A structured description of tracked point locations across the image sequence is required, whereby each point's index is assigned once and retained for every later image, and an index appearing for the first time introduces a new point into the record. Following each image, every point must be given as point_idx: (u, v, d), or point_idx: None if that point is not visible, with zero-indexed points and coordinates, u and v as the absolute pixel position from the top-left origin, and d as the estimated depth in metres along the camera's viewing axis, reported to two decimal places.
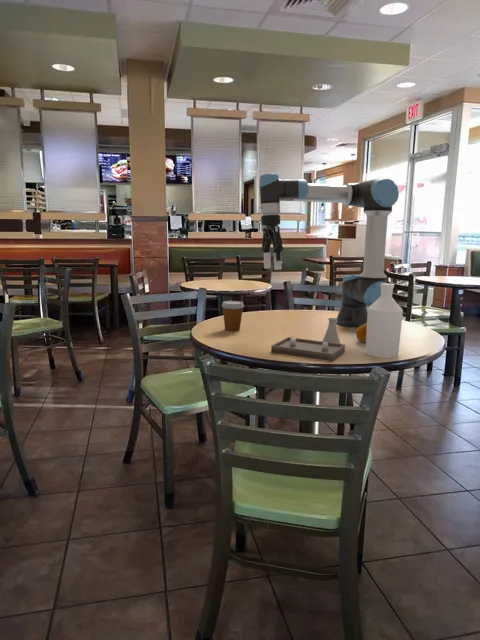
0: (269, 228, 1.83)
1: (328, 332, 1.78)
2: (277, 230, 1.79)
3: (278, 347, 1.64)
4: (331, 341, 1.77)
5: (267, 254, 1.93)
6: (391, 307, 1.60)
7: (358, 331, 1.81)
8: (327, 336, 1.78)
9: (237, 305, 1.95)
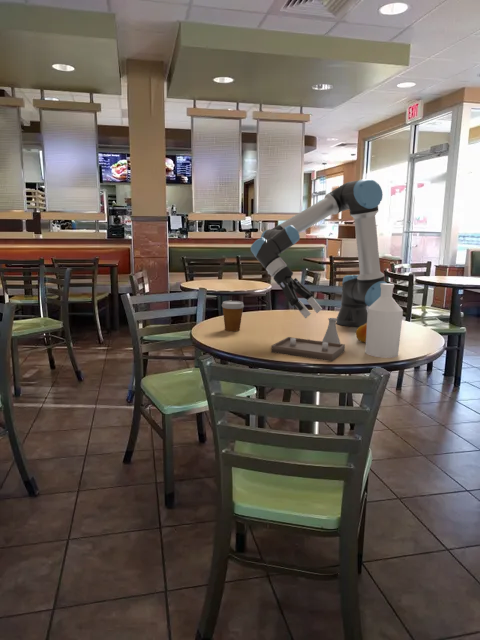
0: None
1: (328, 332, 1.78)
2: (284, 285, 1.77)
3: (278, 347, 1.64)
4: (331, 341, 1.77)
5: (310, 300, 1.87)
6: (391, 307, 1.60)
7: (358, 331, 1.81)
8: (327, 336, 1.78)
9: (237, 305, 1.95)
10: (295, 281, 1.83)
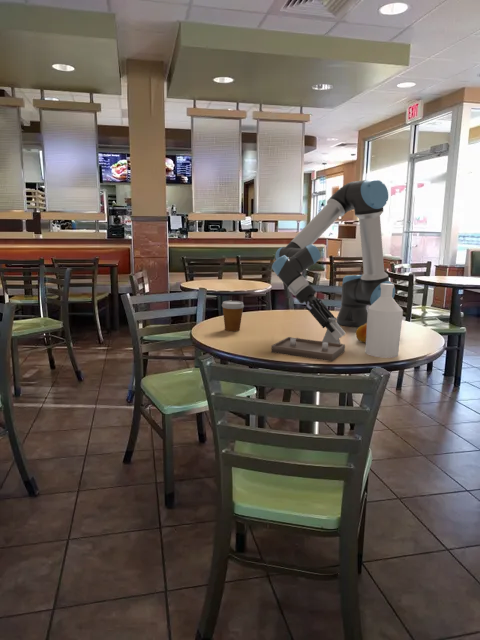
0: None
1: (328, 332, 1.78)
2: (311, 307, 1.75)
3: (278, 347, 1.64)
4: (331, 341, 1.77)
5: None
6: (391, 307, 1.60)
7: (358, 331, 1.81)
8: (327, 336, 1.78)
9: (237, 305, 1.95)
10: (318, 300, 1.81)
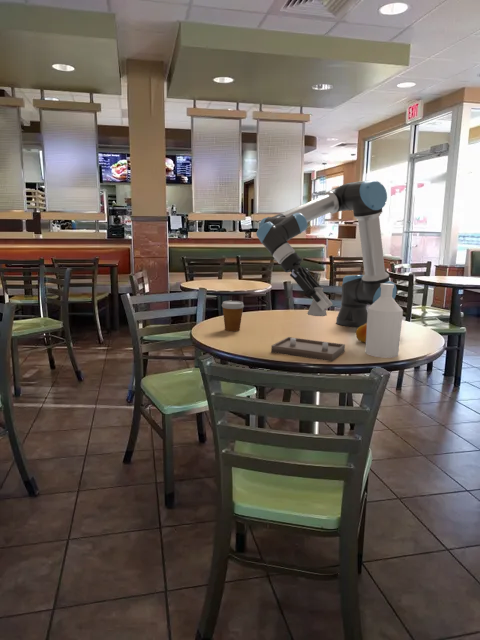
0: None
1: (314, 302, 1.68)
2: (296, 275, 1.65)
3: (278, 347, 1.64)
4: (317, 311, 1.67)
5: None
6: (391, 307, 1.60)
7: (358, 331, 1.81)
8: (313, 306, 1.68)
9: (237, 305, 1.95)
10: (304, 268, 1.71)
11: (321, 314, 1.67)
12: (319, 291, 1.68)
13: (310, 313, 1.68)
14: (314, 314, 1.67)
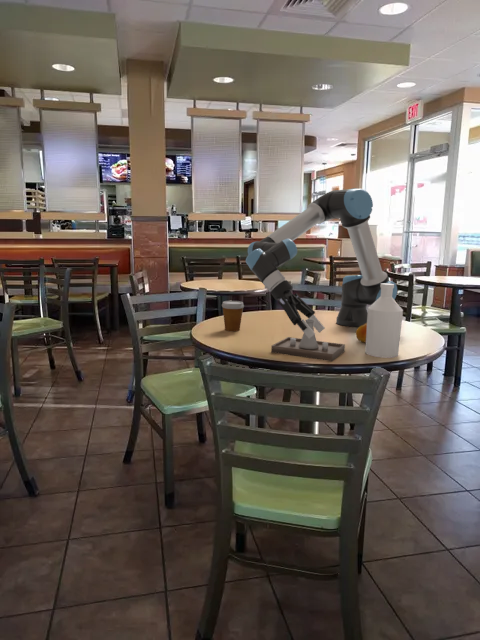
0: None
1: (305, 335, 1.65)
2: (283, 302, 1.61)
3: (278, 347, 1.64)
4: (308, 344, 1.64)
5: (311, 318, 1.70)
6: (391, 307, 1.60)
7: (358, 331, 1.81)
8: (304, 339, 1.65)
9: (237, 305, 1.95)
10: (295, 296, 1.68)
11: (312, 347, 1.64)
12: (310, 323, 1.64)
13: (301, 346, 1.65)
14: (305, 347, 1.64)
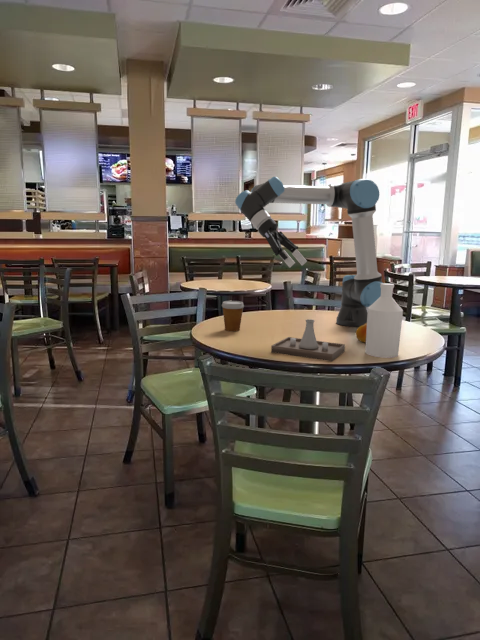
0: None
1: (305, 335, 1.65)
2: (268, 235, 1.78)
3: (278, 347, 1.64)
4: (308, 344, 1.64)
5: (295, 252, 1.88)
6: (391, 307, 1.60)
7: (358, 331, 1.81)
8: (304, 339, 1.65)
9: (237, 305, 1.95)
10: (280, 233, 1.84)
11: (312, 347, 1.64)
12: (310, 324, 1.64)
13: (301, 346, 1.65)
14: (305, 347, 1.64)
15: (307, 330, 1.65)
